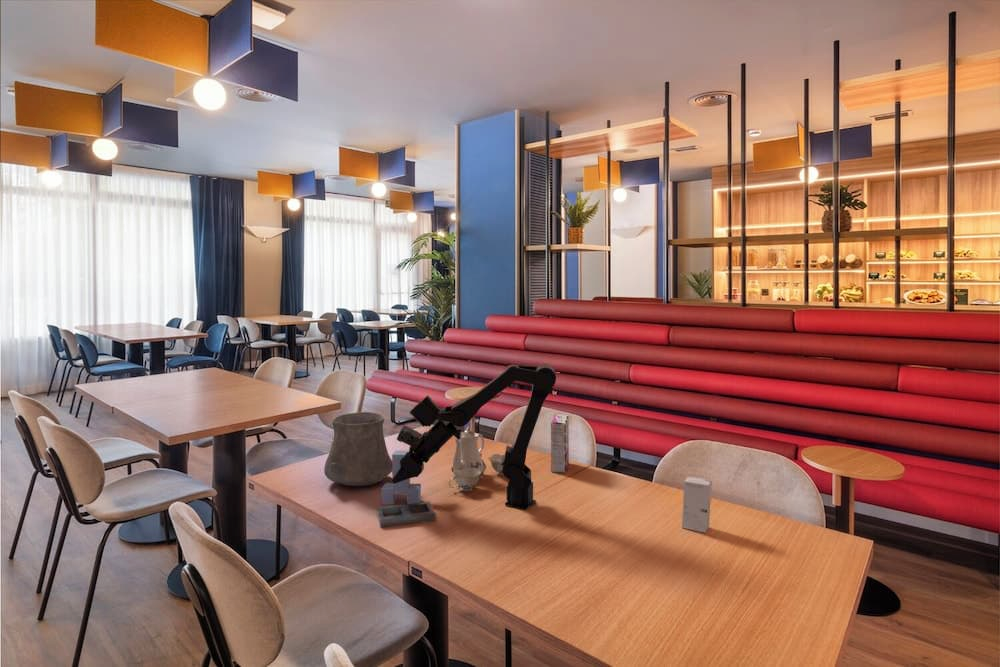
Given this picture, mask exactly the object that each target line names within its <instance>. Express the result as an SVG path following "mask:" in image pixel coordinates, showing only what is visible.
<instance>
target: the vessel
mask: <svg viewBox="0 0 1000 667" xmlns="http://www.w3.org/2000/svg"><path fill="white" fill-rule="evenodd" d="M384 421H385V417H384V416H383V415H382V414H381V413H380V414H379V413H377V412H371V411H359V412H358V411H357V412H351V413H345V414H342V415H338V416H336V417H335V418H334V419H333V418H332V420H331V422H332V423H331V424H332V427H333V428H332V429H333V438H332V439H333V440H332V444H331V447H330V450H329V453H328V455H327V458H326V460H325V463H324V468H323V473H324V475H325V477H326V479H328V480H329V481H331V482H334V483H337V484H340V485H345V486H349V487H350V486H352V487H368V486H370V485H371V486H372V485H374V484H377V483H380V481H383V480H384V479H385V478H387V477H389V475H390V474H392V457H390V454H389V452H388V448H387V444H386V439H385V435H384V423H385V422H384Z"/></svg>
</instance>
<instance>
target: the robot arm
mask: <svg viewBox="0 0 1000 667" xmlns="http://www.w3.org/2000/svg"><path fill="white" fill-rule="evenodd" d="M515 382H520V383H525V384H529V385H532V387H531V394H530V397H529V400H528V403H527V406H526V409H525V412H524V414H523V417H522V420H521V422H520V426H519V428H518V432H517V434H516V437H515V440H514V442H513V443H512V444H511V446H510V445H508V444H507V445H506V446H505V452H504V454H503V455H504V456H503V457H502V462H501V465H503V469H502V471H503V474H504V475H503V476H504V477H505V478H506V479H507V480H508V481H507V486H506V502H505V503H504V505H505V506H507V507H512V508H517V509H521V510H526V509H528V508H529V507H530V508H531V506H533V505H535V503H536V502H537V500H536V499H534V482H533V481H532V469H531V468H529V467H528V466H527V464H526V459H527V452H528V447H529V444H530V441H531V438H532V435H533V433H534V430H535V428H536V424H537V422H538V419H539V416H540V413H541V410H542V407H543V404H544V402H545V400H546V399H547V397H548V396H549V395H550V393H551V391H552V389H553V388H554V386H555V384H556V382H557V375H556V371H555V369H554V368H553V366H551V365H549V364H545V363H544V364H540V365H537V366H534V365H517V364H510V365H508V366H507V367H506V369H505V370H504V371H502V372H501V373H500V374H498V375H497V376H496V377H494V378H493V379H492V380H490V382H488V383H486V384H485V385H483V387H482V388H480V389H479V390H478V391H477V392H475V393H473V394H472V395H469V396H467V397H465V398H463V399H461V400H460V401H456V402H455V403H454V404H453V405H450V406H449V405H448V406H442V407H441V408H440V406H438V404H436V403H435V402H434V400H433V399H432V398H431V397H430V395H426V396H425V397H424V398H423V399H421V401H418V403H416V405H414V407H412V409H410V411H409V414H410V415H411V416H412V417H413V418H414V419H415V420H416V421H417V422H418V424H420V425H421V426H422V427H430V429H428V430H427V431H424V432H423V433H421V432H419V431H417V430H415V429H413V428H411V427H409V426H406V425H403V426H402V427H401V429H400V430H399V433H398V435H397V437H396V440H397V441H398V442H400V443H403V444H406V445H407V446H409V450H408V451H410V452H407V453H406V454H405V455H404V456H403V457H402V459H401V460H400V465H401V468H400V469H399V471H398V472H397V473H396V475H395V476H394V478H392V479H391V481H390V483H393V484H395V483H398V482H401V481H404V480H406V479H410V480H411V479H412V478H418V477H419V476H420V475H421V473H423V471H424V470H425V464H427V463H428V462H429V461H430V459H431V458H432V457H433V456H434V455H435V454H437V453H438V452H439V451H441V448H442V447H443V446H444V445H446V444H447V443H448V441H449V440H450V439H452V438H453V437H455V438H456V439H458V440H459V441H460V438H461V436H462V435H461V433H462V430H463V428H462V427H465V426H466V425H467V424H468V423H469V422H471V421H472V419H473V418H474V417H475V415H476V414H478V412H479V411H480V409H481V408H482V407H484V405H486V404H488V402H490V401H491V400H492V399H494V398H495V397H496V396H498V395H499V394H500V393H501V392H503V391H505V389H506V388H508V387H509V386H510V385H512V384H513V383H515ZM437 420H438V421H437ZM436 421H437V422H436ZM433 424H434V425H433ZM432 425H433V426H432Z"/></svg>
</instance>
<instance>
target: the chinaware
mask: <svg viewBox="0 0 1000 667" xmlns="http://www.w3.org/2000/svg"><path fill="white" fill-rule="evenodd" d="M461 435H462V436H461V438H460V440H458V439H457V438H456V439H454V442H455V444H456V445H455V452H454V456H453V460H452V466H451V468H450V469H451V472H452V476H453V477H451V478H450V479H449V482H448V484H449V487H450V488H451V489H455V488H457V490H462V491H463V492H470V491H472V490H474V487H475V486H476V485H477V484H478V482H479V481H480V480H481V479H483V474H484V473H485V471H486V469H487V465H486V463H485V461H484V459H482V455H483V454H482V453H481V452H482V450H483V449H484V446H485V438H484V435H483V434H481V433H476V432H475V431H474V430H473V429H472V428H471V426H469V425H468V426H467V427H466V428H465V430H463V432H461ZM479 437H480V440H481V443H480V448H479V446H478V445H479V444H478V442H479V440H478V439H479ZM503 456H504V454H499V453H495V454H492V455H491V456H489V457H488V458H487V459H488V460H489V462H490V464H491V467H492V468H493V470H494V471H495V472H496V473H497V475H498V476H504V474H503V471H502V469H503V465H501V462H502V457H503ZM452 480H453V481H454V480H455V483H456V484H457V485H455V486H452V485H451V483H452Z"/></svg>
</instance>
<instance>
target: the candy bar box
mask: <svg viewBox="0 0 1000 667" xmlns="http://www.w3.org/2000/svg"><path fill="white" fill-rule="evenodd" d="M569 416H570V415H568V414H554V416H553V418H552V421H551V423H550V428H551V429H550V430H551V431H550V437H551V438H550V442H551V443H550V444H551V451H550V453H551V457H550V458H551V460H550V462H551V464H550V465H551V466H550V467H551V468H550V469H551V470H550V471H551V473H561V474H566V472H567V469H568V466H569V461H570V460H569V456H570V450H569V449H570V448H569V447H570V446H569V444H570V441H569V438H570V437H569V436H570V434H569V432H570V431H569V428H570V427H569V426H570V424H569V422H570V421H569V419H570V418H569Z"/></svg>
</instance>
